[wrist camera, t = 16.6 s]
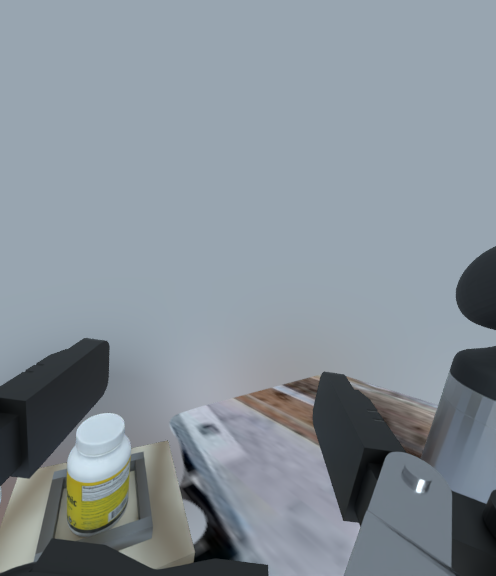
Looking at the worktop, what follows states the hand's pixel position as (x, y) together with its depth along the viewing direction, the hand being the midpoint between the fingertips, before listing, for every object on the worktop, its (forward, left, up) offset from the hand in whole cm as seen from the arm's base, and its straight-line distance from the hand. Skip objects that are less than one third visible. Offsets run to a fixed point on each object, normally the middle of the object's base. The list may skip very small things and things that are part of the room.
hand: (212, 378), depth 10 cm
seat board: (+4, -16, -25) cm, 30 cm away
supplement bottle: (+4, -16, -24) cm, 29 cm away
